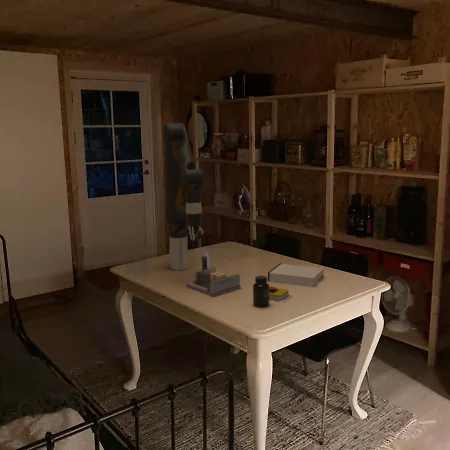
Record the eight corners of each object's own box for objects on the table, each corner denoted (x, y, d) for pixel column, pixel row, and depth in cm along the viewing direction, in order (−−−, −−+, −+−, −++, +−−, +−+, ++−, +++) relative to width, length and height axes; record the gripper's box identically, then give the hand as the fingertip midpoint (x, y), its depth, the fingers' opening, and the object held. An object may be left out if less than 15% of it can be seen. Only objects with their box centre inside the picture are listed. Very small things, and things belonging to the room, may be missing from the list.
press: (186, 286, 239) (186, 273, 238) (212, 279, 250) (212, 266, 248) (214, 297, 224) (214, 282, 223) (240, 288, 235) (240, 275, 234)
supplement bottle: (268, 301, 218) (268, 274, 215) (270, 307, 211) (270, 279, 209) (252, 302, 218) (252, 275, 215) (253, 307, 211) (253, 280, 208)
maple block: (210, 286, 234) (210, 273, 233) (219, 283, 238) (218, 271, 236) (218, 288, 231) (217, 276, 229) (226, 286, 234) (225, 273, 233)
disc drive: (280, 272, 260) (280, 262, 259) (323, 277, 251) (323, 267, 250) (267, 282, 245) (267, 272, 244) (313, 288, 235) (313, 277, 234)
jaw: (193, 283, 238) (192, 258, 236) (213, 278, 246) (212, 253, 243) (196, 284, 236) (195, 259, 234) (216, 279, 244) (215, 254, 242)
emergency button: (263, 282, 231) (293, 287, 223) (263, 291, 232) (293, 297, 224) (253, 288, 223) (284, 294, 215) (253, 298, 224) (284, 303, 216)
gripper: (208, 212, 237) (209, 248, 241) (191, 209, 247) (192, 243, 250) (196, 214, 232) (197, 251, 236) (178, 211, 242) (180, 246, 245)
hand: (194, 247), depth 243 cm, fingers closed
